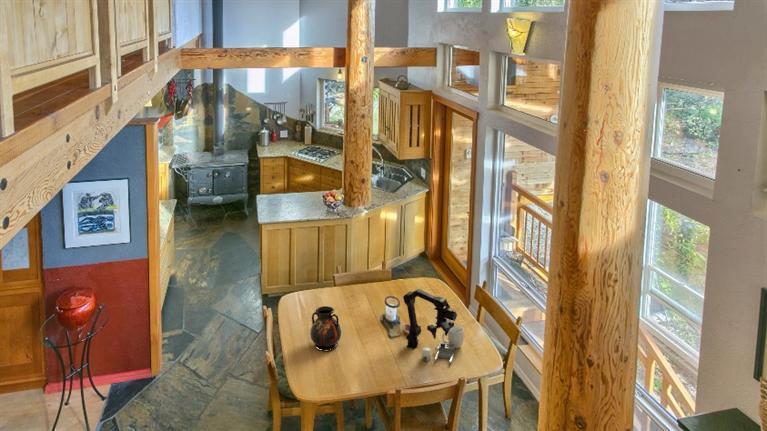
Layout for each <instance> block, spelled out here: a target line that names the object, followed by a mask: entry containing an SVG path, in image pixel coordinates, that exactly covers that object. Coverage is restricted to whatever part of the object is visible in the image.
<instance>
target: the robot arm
mask: <svg viewBox="0 0 767 431" xmlns="http://www.w3.org/2000/svg"><path fill="white" fill-rule="evenodd" d="M418 297H419V298H420V299H422V300H424V301H427V302H429V303H431V304H432V305H433V306H434V308H433V310H436V316H435V319H436V322H435V325H434V324H430V325H427V327H426V330H427V331H429V332H430V333H431V335H432V338H433V339H434V340H436V337H437V332H438V331H437V330H438V329H441V330H442V331H443V332H445V334H444V336H446V337H448V332H449V330H450V329H451V328H453V327H454V326H455V322H456V319H457V317H458V314H457V312H456V310H454V309H451V306H450V304H449V303H448V301H447V298H445V297H442V296H435V295H433V294H430V293H428V292H426V291H424V290H422V289H421V288H418V289H417V290H414V291H409V292H407V293H405V294H404V295H403V297H402V299H403V302H404V304H405V305H406V307H407V312H408V321H409V328H408V329H409V330H408V334H407V335H406V336H405V339H406V340H407V346H406V347H407V348H410V349H411V348H412V349H417V347H418V345H419V339H418V337H419V335H421V333H422V326H421V325H419V324H418V321H417V316H416V309H415V303H416V298H418ZM454 321H455V322H454Z"/></svg>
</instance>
